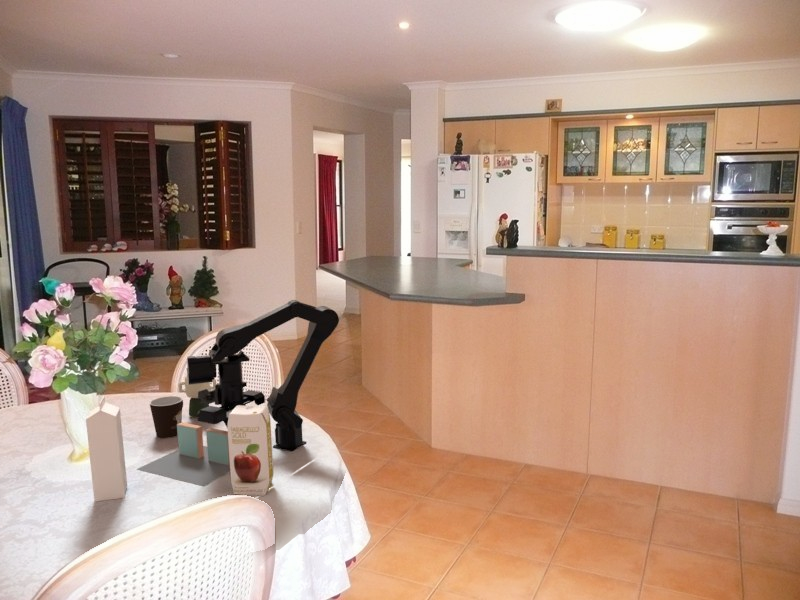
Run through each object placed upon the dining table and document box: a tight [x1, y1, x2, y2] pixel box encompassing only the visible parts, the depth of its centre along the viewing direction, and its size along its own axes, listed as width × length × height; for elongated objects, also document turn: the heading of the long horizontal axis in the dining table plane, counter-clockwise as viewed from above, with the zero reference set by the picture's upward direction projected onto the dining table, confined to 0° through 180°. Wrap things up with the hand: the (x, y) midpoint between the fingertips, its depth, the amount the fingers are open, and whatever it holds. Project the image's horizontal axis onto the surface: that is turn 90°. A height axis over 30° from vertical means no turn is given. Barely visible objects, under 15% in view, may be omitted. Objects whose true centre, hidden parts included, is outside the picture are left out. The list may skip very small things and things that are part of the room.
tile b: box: [177, 422, 204, 459], centre depth 158 cm, size 7×2×8 cm, turn 63°
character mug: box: [178, 374, 217, 419], centre depth 188 cm, size 11×7×13 cm, turn 105°
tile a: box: [205, 427, 230, 466], centre depth 153 cm, size 7×2×8 cm, turn 63°
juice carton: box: [226, 404, 274, 497], centre depth 138 cm, size 8×9×19 cm
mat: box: [136, 445, 230, 487], centre depth 154 cm, size 22×18×1 cm
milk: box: [85, 396, 128, 503], centre depth 137 cm, size 6×6×22 cm
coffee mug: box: [149, 395, 184, 439], centre depth 174 cm, size 12×9×10 cm
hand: (234, 438), depth 158 cm, fingers closed
